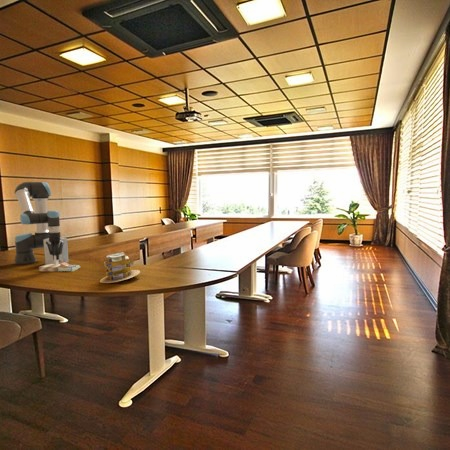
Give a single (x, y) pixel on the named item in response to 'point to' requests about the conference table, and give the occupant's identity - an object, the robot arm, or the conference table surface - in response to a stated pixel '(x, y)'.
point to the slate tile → (70, 266)
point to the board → (49, 267)
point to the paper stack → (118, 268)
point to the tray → (69, 269)
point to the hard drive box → (62, 257)
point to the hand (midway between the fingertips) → (56, 264)
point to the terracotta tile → (64, 265)
